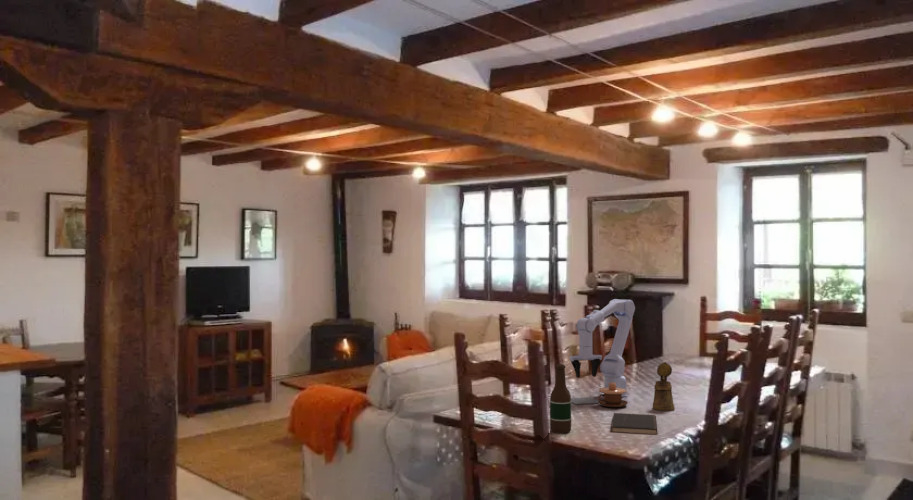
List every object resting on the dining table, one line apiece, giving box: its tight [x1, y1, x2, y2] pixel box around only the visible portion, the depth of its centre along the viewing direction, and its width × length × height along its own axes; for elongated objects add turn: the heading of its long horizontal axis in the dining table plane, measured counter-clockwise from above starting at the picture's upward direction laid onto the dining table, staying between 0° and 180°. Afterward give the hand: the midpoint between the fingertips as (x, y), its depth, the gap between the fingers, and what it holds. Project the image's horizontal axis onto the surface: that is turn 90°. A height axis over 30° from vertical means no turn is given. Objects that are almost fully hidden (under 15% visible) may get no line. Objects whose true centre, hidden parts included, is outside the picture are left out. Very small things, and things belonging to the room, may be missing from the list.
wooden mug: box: [652, 361, 675, 412], centre depth 297 cm, size 9×14×18 cm, turn 158°
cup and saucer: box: [598, 393, 629, 408], centre depth 300 cm, size 12×12×6 cm
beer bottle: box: [549, 363, 572, 434], centre depth 258 cm, size 8×8×24 cm
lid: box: [598, 383, 626, 394], centre depth 300 cm, size 11×11×4 cm
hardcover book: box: [611, 412, 658, 435], centre depth 266 cm, size 16×23×2 cm
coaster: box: [571, 396, 600, 406], centre depth 310 cm, size 12×12×1 cm
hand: (586, 376), depth 311 cm, fingers open, 7 cm apart
